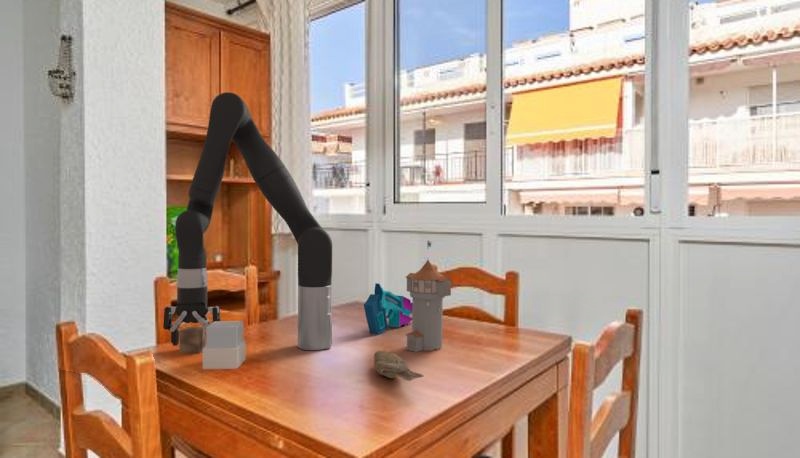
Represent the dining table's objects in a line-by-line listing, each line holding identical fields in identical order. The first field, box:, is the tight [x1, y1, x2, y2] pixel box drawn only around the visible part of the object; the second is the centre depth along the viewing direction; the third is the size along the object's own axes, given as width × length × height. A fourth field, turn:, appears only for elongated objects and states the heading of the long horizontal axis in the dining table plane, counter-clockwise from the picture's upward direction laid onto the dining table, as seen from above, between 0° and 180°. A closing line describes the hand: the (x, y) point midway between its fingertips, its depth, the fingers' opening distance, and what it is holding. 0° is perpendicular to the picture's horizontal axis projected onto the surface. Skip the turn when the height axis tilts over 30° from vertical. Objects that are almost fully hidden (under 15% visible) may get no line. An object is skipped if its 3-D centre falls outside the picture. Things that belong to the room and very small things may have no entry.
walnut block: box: [179, 326, 206, 355], centre depth 134 cm, size 5×5×6 cm
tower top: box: [205, 320, 244, 348], centre depth 122 cm, size 7×7×5 cm
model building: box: [405, 240, 453, 353], centre depth 140 cm, size 14×12×30 cm
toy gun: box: [363, 283, 413, 336], centre depth 162 cm, size 4×26×15 cm, turn 148°
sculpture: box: [373, 350, 425, 382], centre depth 112 cm, size 6×25×5 cm, turn 23°
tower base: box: [202, 339, 247, 370], centre depth 122 cm, size 8×8×5 cm
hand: (192, 344), depth 134 cm, fingers open, 8 cm apart
